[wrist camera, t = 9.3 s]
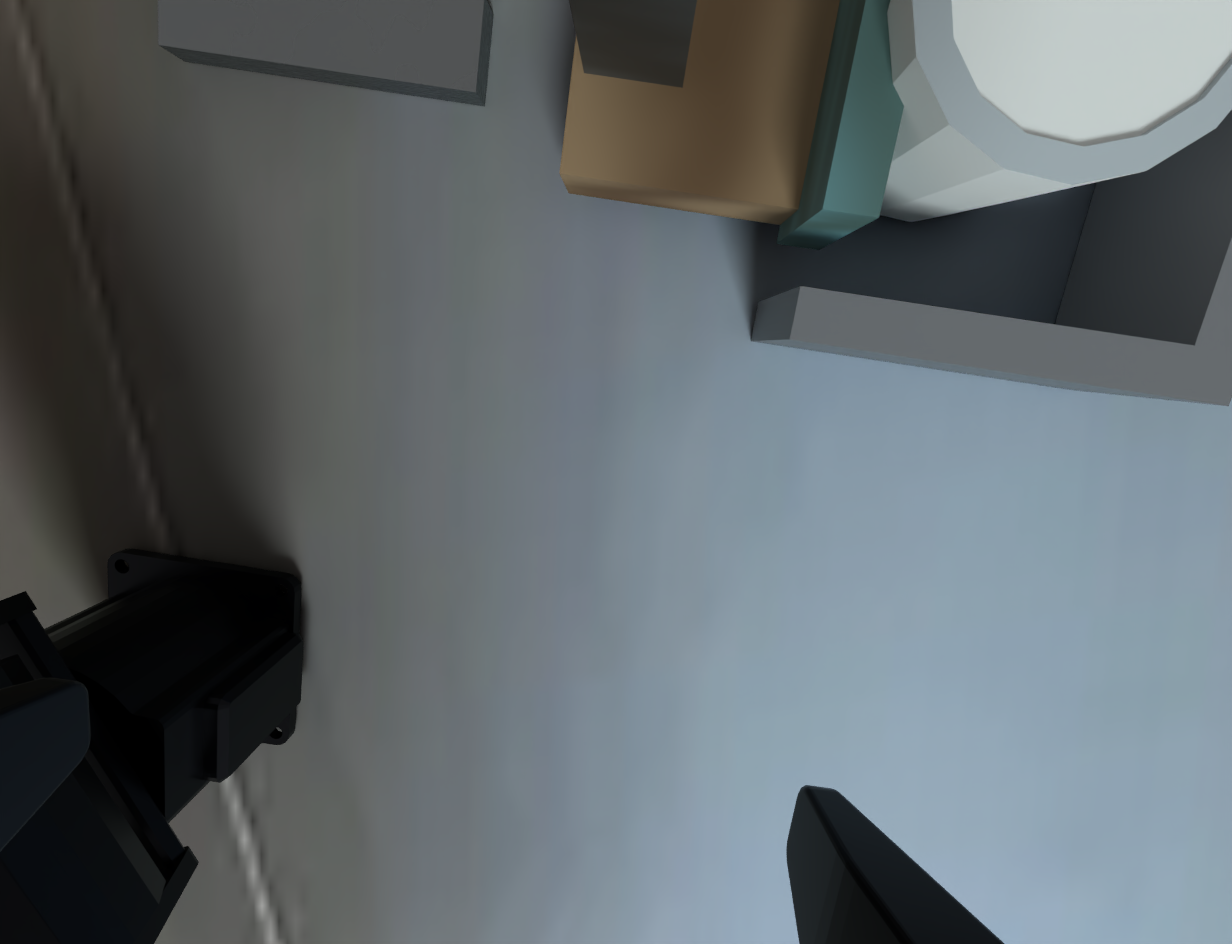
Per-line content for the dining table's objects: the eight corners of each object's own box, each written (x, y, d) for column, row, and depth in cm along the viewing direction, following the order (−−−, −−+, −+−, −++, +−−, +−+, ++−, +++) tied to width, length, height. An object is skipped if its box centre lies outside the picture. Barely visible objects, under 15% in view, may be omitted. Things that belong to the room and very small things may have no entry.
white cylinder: (812, -20, 17) (939, -274, 10) (1064, -18, 17) (1369, -272, 10) (793, 242, 18) (891, 180, 11) (1024, 246, 18) (1265, 186, 11)
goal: (750, 340, 19) (789, 339, 14) (848, -169, 16) (938, -393, 11) (1075, 390, 19) (1228, 405, 14) (1230, -113, 16) (1489, -315, 11)
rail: (184, 61, 18) (158, 45, 17) (184, -32, 17) (157, -54, 16) (484, 106, 18) (475, 92, 17) (493, 14, 17) (484, -6, 16)
